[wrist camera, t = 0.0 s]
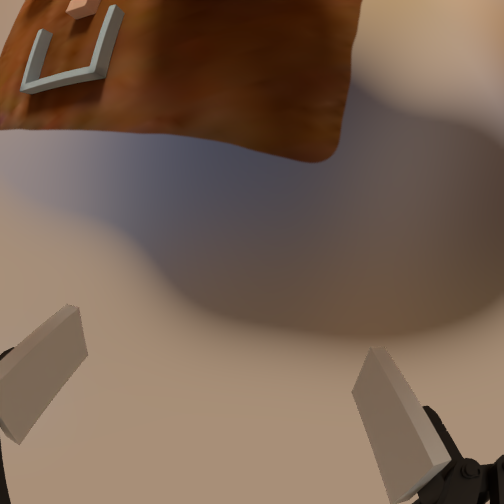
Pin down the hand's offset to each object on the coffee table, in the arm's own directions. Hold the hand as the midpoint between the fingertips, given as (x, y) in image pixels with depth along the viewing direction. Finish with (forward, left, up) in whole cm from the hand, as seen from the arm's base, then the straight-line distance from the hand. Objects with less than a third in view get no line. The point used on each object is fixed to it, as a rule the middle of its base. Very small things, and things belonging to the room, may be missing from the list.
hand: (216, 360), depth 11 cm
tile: (-39, -33, -28) cm, 58 cm away
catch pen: (-28, -33, -28) cm, 52 cm away
